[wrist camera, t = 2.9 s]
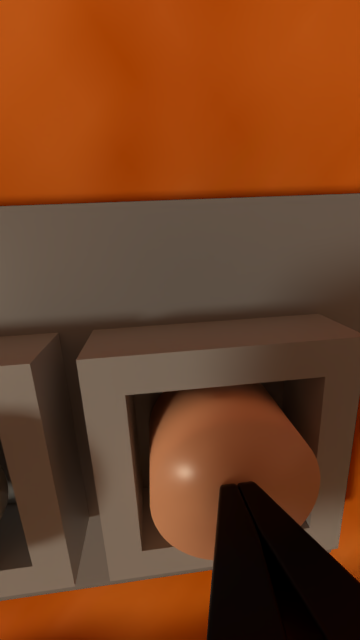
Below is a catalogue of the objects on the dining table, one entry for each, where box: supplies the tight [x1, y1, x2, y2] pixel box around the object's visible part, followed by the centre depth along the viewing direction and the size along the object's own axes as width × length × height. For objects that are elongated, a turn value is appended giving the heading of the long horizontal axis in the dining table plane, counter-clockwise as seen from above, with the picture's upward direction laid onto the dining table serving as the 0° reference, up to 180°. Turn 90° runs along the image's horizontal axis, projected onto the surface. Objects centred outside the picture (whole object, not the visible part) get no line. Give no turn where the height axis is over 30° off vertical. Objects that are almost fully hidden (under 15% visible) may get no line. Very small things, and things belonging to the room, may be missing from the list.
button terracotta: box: [149, 383, 320, 560], centre depth 8 cm, size 4×4×3 cm
